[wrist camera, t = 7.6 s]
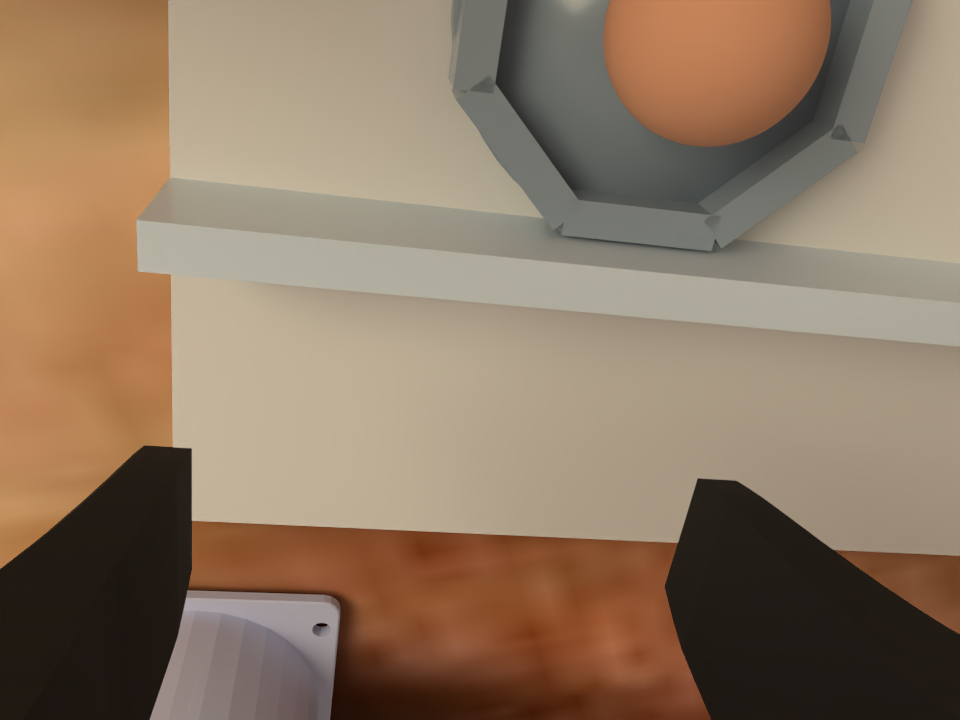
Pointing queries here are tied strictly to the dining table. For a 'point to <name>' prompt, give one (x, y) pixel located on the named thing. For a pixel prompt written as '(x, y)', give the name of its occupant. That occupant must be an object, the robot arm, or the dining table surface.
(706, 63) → the rust ball
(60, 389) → the dining table surface
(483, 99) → the dish
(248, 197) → the fence
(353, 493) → the board
